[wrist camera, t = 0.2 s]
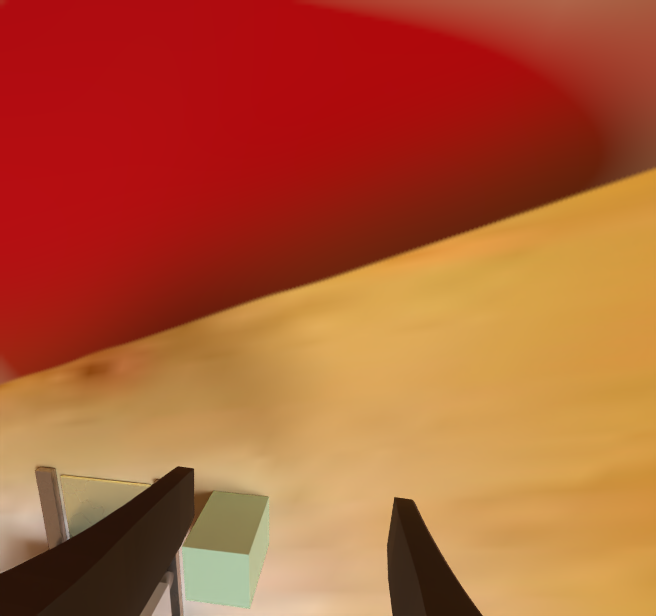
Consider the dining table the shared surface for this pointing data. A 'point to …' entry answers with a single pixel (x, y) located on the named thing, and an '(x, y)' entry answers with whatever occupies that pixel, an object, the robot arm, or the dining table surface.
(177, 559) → the rails
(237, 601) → the green block
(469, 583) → the dining table surface
